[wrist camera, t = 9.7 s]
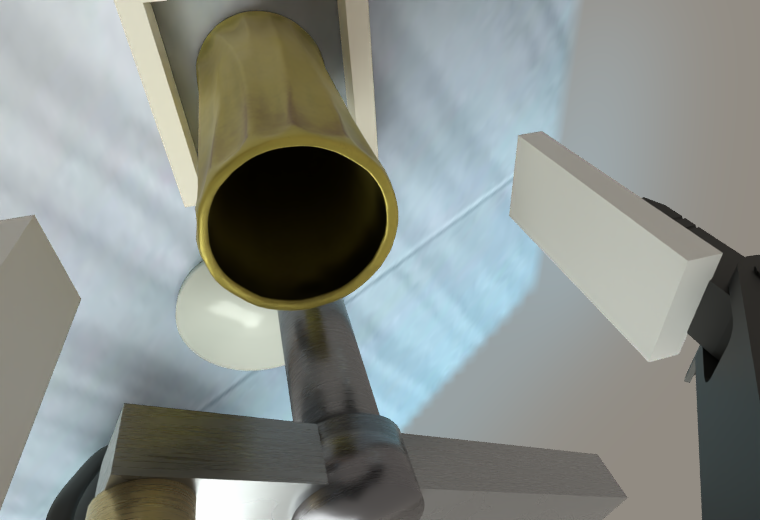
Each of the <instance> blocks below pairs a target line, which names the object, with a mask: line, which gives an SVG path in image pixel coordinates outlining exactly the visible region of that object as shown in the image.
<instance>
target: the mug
mask: <svg viewBox="0 0 760 520" xmlns="http://www.w3.org/2000/svg"><path fill="white" fill-rule="evenodd" d="M107 448H108V446H106V447H103V448H101V449H100V450H98V451H97V452H96V453H95V454H94V455H93V456H91V457H90V458H89V459H88V460H87V461H86V462H85V463H84V465H83V466H82V467H81V468H80V469H79V470H78V471H77V472H76V474H75V475H74V476H73V477H72V478H71V479H70V480H69V482H68V483H67V484H66V485H65V486H64V488H63V489H62V490H61V492H60V493H59V494H58V496H57V497H56V499H55V500H54V502H53V504H52V506H51V508H50V510H49V512H48V515H47V518H46V520H85V518H86V514H87V509H88V506H89V504H90V502H91V501H92V500H93V498H95V493H96V488H97V484H98V479H99V474H100V470H101V465H102V461H103V459H104V456H105V453H106V451H107Z"/></svg>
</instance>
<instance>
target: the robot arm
mask: <svg viewBox="0 0 760 520" xmlns="http://www.w3.org/2000/svg"><path fill="white" fill-rule="evenodd" d="M509 216H510V217H511V218H512V219H513V220H514V221H515V222H516V223H517V224H518V225H519V226H520V228H521V229H522V230H523V231H524V232H525V233H526V234H527V235H528V236H529V237H530V238H531V239H532V240H533V241H534V242H535V243H536V244H537V245H538V246H539V247H540V249H541V250H542V251H543V252H544V253H545V254H546V255H547V256H548V257H549V258H550V259H551V260H552V261H553V262H554V263H555V264H556V265H557V266H558V267H559V268H560V270H562V271H563V273H564V274H565V275H566V276H567V277H568V278H569V279H570V280H571V281H572V282H573V283H574V284H575V285H576V286H577V287H578V288H579V289H580V290H581V292H583V294H585V296H586V297H587V298H588V299H589V300H590V301H591V302H592V303H593V304H594V305H595V306H596V307H597V308H598V309H599V310H600V311H601V313H602V314H603V315H604V316H605V317H606V318H607V319H608V320H609V321H610V322H611V323H612V324H613V325H614V326H615V327H616V328H617V329H618V330H619V331H620V333H621V334H622V335H623V336H624V337H625V338H626V339H627V340H628V341H629V342H630V343H631V344H632V345H633V346H634V347H635V348H636V349H637V350H638V351H639V352H640V354H641V355H642V356H643V357H644V358H645V359H646V360H647V361H648V362H651V361H655V360H658V359H663V358H666V357H670V356H674V355H678V354H679V353H680V350H681V348H682V346H683V343H684V341H685V339H686V337H687V334H689V335H690V336H691V337H692V338H693V339H694V340H696V341H697V342H698V343H699V344H700V346H699V348H698V350H697V353H696V355H695V357H694V359H693V361H692V363H691V365H690V368H689V370H688V372H687V374H686V377H685V380H684V381H685V382H689V383H690V381H691V379H692V377H693V376H694V375H696V390H697V412H698V435H699V458H700V479H701V502H702V520H760V255H754V256H747V257H744V256H742V255H740V254H739V253H737V252H736V251H735V250H733V249H731V248H730V247H728V246H727V245H725V244H724V243H722V242H721V241H719V240H718V239H716V238H715V237H713V236H712V235H710V234H708V233H707V232H706V231H704V230H702V229H701V228H699V227H698V228H696V226H695V224H693V223H691V222H690V221H689V220H687V219H686V218H685V219H682V216H681V215H679V214H678V213H676V212H675V211H673V210H672V209H670V208H669V207H667V206H666V205H663V204H660V203H658V202H655V201H652V200H650V199H647V198H644V197H643V198H640V197H639V196H637V195H636V194H634V193H633V192H631V191H630V190H628V189H627V188H625V187H624V186H622V185H621V184H619V183H618V182H617V181H615V180H613V179H612V178H611V177H609V176H607V175H606V174H605V173H603V172H602V171H600V170H599V169H597V168H596V167H594V166H593V165H591V164H590V163H588V162H587V161H585V160H584V159H582V158H581V157H579V156H578V155H576V154H575V153H573V152H572V151H570V150H569V149H567V148H566V147H565V146H563V145H562V144H560V143H559V142H557V141H556V140H554V139H553V138H551V137H550V136H548V135H547V134H545V133H544V132H542V131H540V132H534V133H528V134H522V135H518V142H517V151H516V160H515V169H514V177H513V186H512V195H511V204H510V213H509ZM80 300H81V298H80V296H79V294H78V293H77V291H76V289H75V287H74V285H73V284H72V282H71V280H70V278H69V276H68V275H67V273H66V271H65V269H64V267H63V266H62V264H61V262H60V260H59V258H58V257H57V255H56V253H55V251H54V249H53V248H52V246H51V244H50V242H49V240H48V239H47V237H46V235H45V233H44V231H43V230H42V228H41V226H40V224H39V222H38V221H37V219H36V217H35V215H30V216H24V217H18V218H12V219H6V220H0V509H1V507H2V504H3V501H4V499H5V496H6V494H7V491H8V488H9V486H10V483H11V481H12V478H13V475H14V473H15V470H16V468H17V465H18V462H19V460H20V457H21V454H22V452H23V449H24V447H25V444H26V441H27V439H28V436H29V434H30V431H31V428H32V426H33V423H34V421H35V418H36V415H37V413H38V410H39V408H40V405H41V402H42V400H43V397H44V394H45V392H46V389H47V387H48V384H49V381H50V379H51V376H52V374H53V371H54V368H55V366H56V363H57V361H58V358H59V355H60V353H61V350H62V347H63V345H64V342H65V340H66V337H67V334H68V332H69V329H70V327H71V324H72V321H73V319H74V316H75V314H76V311H77V308H78V306H79V303H80Z"/></svg>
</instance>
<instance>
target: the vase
mask: <svg viewBox="0 0 760 520" xmlns="http://www.w3.org/2000/svg"><path fill="white" fill-rule="evenodd" d="M196 75H197V84H198V90H199V130H198V191H197V201H196V206H195V211H196V220H197V231H196V242H197V246H198V249H199V252H200V255H201V257H202V259H203V261H204V263H205V265H206V266H207V268H208V270H209V272H210V274H211V275H212V276H213V278H214V279H215V280H216V282H217V283H219V284H220V285H221V286H222V287H223V288H224V289H226V290H227V291H229V292H230V293H232V294H234V295H236V296H237V297H239V298H241V299H243V300H244V301H246V302H248V303H251V304H253V305H255V306H258V307H262V308H266V309H272V310H282V311H296V310H306V309H311V308H315V307H318V306H322V305H325V304H328V303H331V302H334V301H337V300H339V299H341V298H343V297H345V296H347V295H348V294H350V293H352V292H353V291H355V290H356V289H357V288H359V287H360V286H362V285H363V284H364V283H365V282H366V281H367V280H368V279H369V278H370V277H371V276H372V275H373V274H374V273H375V272H376V271H377V270H378V269H379V268H380V267H381V265H382V263H383V262H384V260H385V259H386V257H387V255H388V254H389V252H390V250H391V248H392V245H393V242H394V239H395V236H396V231H397V226H398V206H397V201H396V197H395V193H394V190H393V188H392V185H391V182H390V180H389V178H388V175H387V173H386V171H385V169H384V168H383V166H382V165H381V163H380V162H379V160H378V159H377V157H376V156H375V154H374V152H373V151H372V149H371V147H370V146H369V144H368V143H367V141H366V139H365V138H364V136H363V135H362V133H361V131H360V129H359V128H358V126H357V125H356V123H355V121H354V120H353V118H352V116H351V115H350V113H349V111H348V109H347V107H346V105H345V103H344V101H343V99H342V98H341V96H340V94H339V92H338V91H337V89H336V87H335V85H334V83H333V81H332V80H331V78H330V76H329V74H328V72H327V70H326V68H325V65H324V61H323V58H322V55H321V53H320V50H319V48H318V46H317V45H316V43H315V42H314V40H313V39H312V38H311V37H310V35H309V34H308V33H307V32H306V31H305V30H304V29H302V28H301V27H300V26H299V25H298V24H296V23H295V22H293V21H292V20H290V19H288V18H286V17H284V16H282V15H279V14H276V13H271V12H266V11H247V12H242V13H239V14H236V15H234V16H231V17H229V18H227V19H226V20H224V21H222V22H221V23H219V24H218V25H217V26H216V27H215V28H214V29H213V30H212V31H211V32H210V33H209V35H208V36H207V37H206V39H205V41H204V43H203V44H202V47H201V49H200V52H199V55H198V58H197V63H196Z"/></svg>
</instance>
